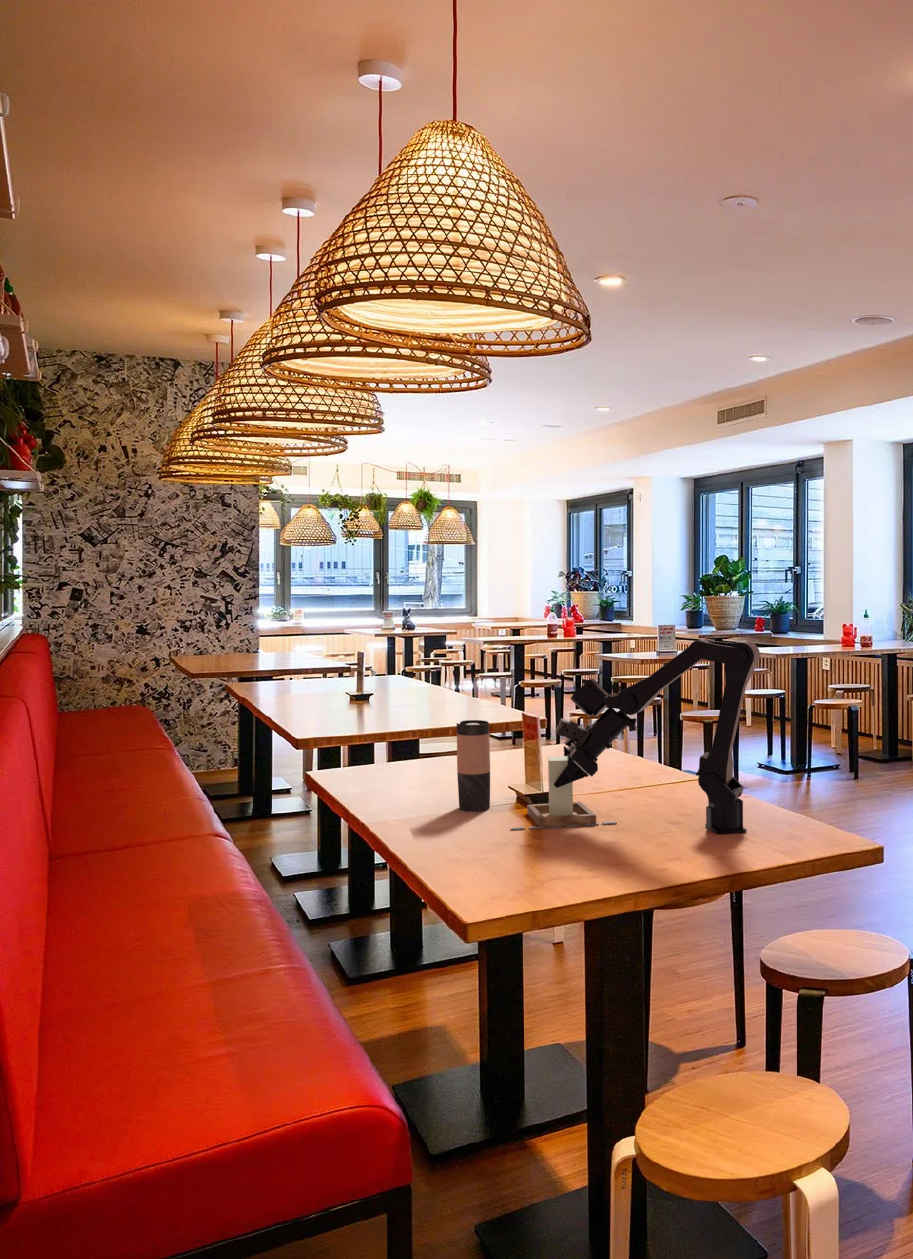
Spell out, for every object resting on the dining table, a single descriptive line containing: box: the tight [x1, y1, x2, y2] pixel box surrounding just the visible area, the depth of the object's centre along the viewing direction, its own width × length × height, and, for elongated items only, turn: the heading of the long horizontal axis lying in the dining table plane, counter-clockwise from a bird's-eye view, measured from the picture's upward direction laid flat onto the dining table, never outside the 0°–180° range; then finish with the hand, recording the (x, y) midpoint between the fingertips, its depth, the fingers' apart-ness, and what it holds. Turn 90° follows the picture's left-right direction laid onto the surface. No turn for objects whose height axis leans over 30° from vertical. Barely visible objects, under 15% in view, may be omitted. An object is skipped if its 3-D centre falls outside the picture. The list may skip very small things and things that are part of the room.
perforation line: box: [510, 821, 618, 831], centre depth 200 cm, size 23×1×1 cm, turn 98°
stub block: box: [547, 755, 574, 816], centre depth 206 cm, size 5×5×13 cm
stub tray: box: [526, 801, 597, 829], centre depth 207 cm, size 12×12×2 cm
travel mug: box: [456, 719, 491, 812], centre depth 218 cm, size 8×8×20 cm
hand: (553, 782), depth 206 cm, fingers open, 7 cm apart
